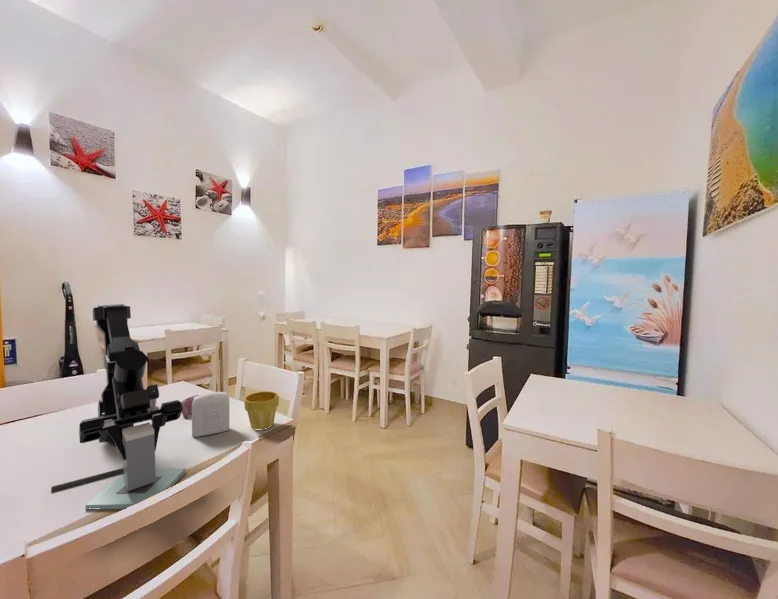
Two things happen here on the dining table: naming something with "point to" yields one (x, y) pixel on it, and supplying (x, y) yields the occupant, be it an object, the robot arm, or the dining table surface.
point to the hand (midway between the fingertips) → (140, 455)
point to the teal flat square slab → (135, 490)
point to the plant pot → (261, 408)
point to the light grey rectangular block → (139, 456)
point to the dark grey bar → (87, 479)
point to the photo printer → (210, 413)
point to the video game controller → (187, 406)
